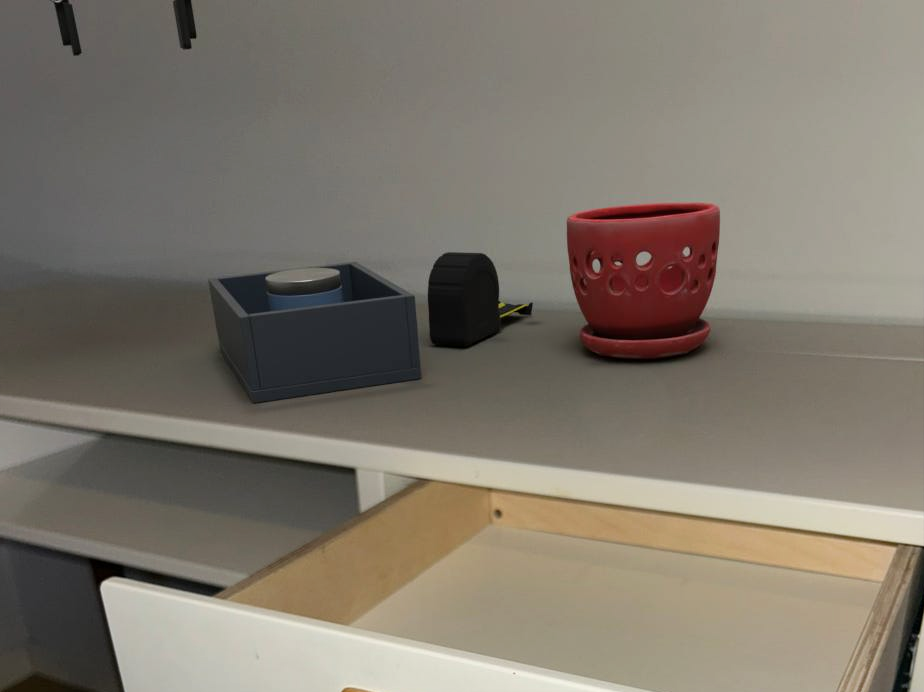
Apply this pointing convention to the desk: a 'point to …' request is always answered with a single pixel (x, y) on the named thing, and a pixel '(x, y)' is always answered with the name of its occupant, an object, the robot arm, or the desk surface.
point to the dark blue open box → (316, 336)
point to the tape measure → (466, 299)
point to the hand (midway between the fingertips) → (132, 51)
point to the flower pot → (644, 277)
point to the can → (303, 288)
